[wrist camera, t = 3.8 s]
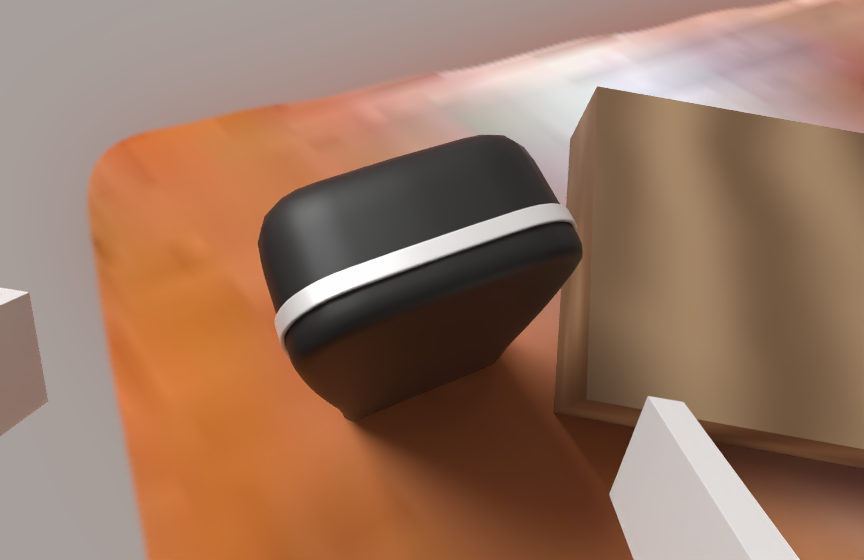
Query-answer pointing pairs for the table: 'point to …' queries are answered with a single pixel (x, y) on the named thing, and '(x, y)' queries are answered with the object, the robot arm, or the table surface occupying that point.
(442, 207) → the battery charger
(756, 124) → the walnut slab
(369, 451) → the table surface
